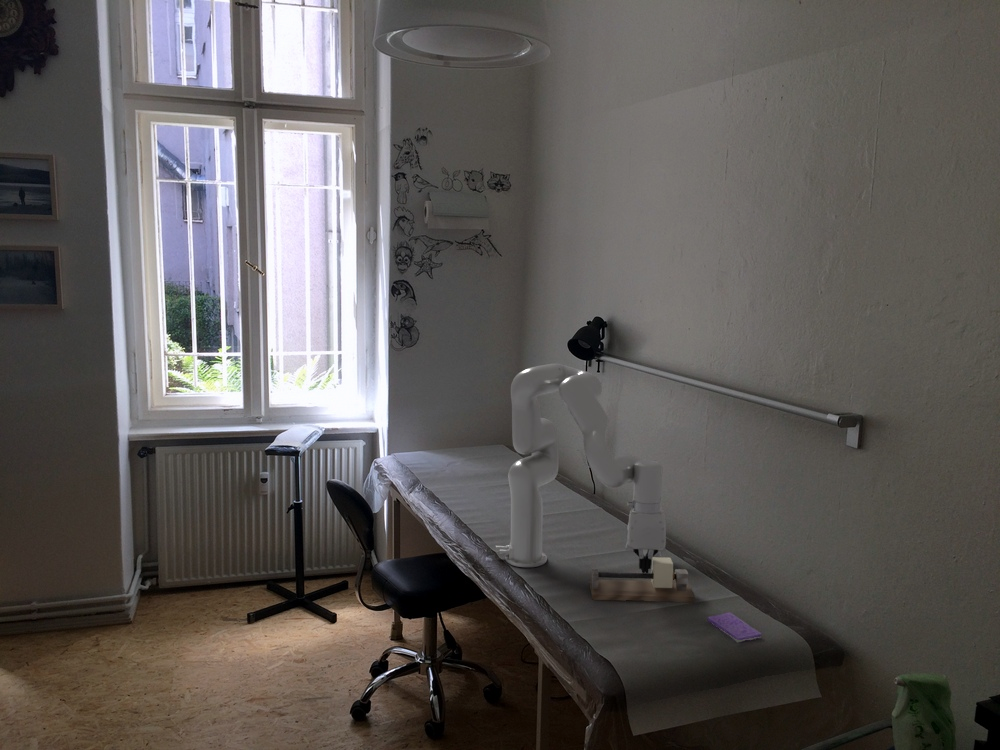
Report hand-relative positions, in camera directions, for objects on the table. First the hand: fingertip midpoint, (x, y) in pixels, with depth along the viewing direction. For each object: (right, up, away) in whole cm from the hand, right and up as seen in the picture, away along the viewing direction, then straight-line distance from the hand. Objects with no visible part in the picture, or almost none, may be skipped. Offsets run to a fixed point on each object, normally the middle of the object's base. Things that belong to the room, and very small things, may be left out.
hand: (644, 571), depth 217 cm
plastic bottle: (+7, -3, +26) cm, 27 cm away
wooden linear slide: (-1, -6, +1) cm, 6 cm away
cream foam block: (+5, -4, 0) cm, 6 cm away
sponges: (+19, -10, -20) cm, 29 cm away
